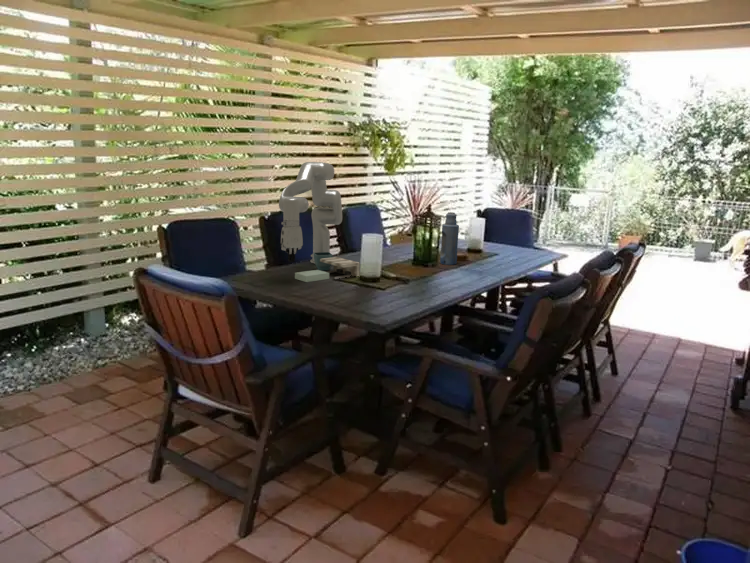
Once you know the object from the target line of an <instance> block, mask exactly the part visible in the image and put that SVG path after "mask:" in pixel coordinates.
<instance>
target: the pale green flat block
mask: <svg viewBox="0 0 750 563" xmlns="http://www.w3.org/2000/svg"><path fill="white" fill-rule="evenodd" d="M324 271H325V270H323V271H320V270H318V269H314V270H305V271H299V272H294V280H299V281H301V282H305V283H311V282H317V281H323V280H330V273H328V272H324Z"/></svg>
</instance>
